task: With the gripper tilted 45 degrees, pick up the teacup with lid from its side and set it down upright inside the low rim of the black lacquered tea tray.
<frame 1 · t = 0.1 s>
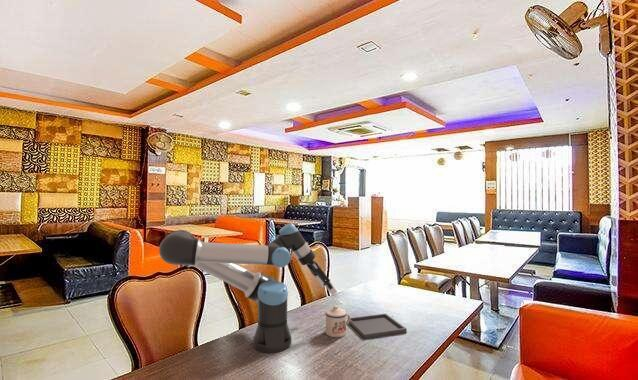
hand: (329, 289, 147), 15 cm above the table, tool tilted 35°, fingers open, 13 cm apart
teacup with lid: (338, 332, 137), on the table
tea tray: (375, 327, 142), on the table
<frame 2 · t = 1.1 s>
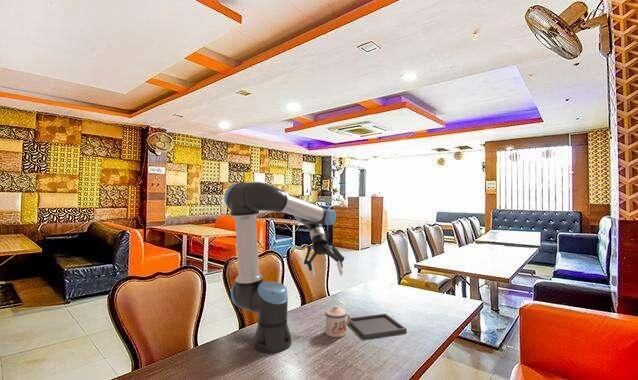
hand: (328, 275, 148), 22 cm above the table, tool tilted 45°, fingers open, 13 cm apart
nothing on the table moved.
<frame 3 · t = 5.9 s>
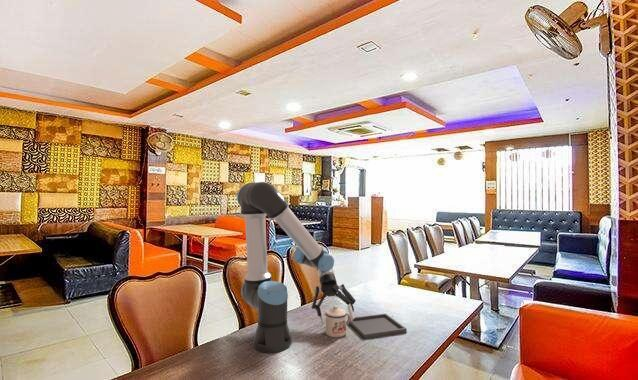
hand: (338, 321, 135), 5 cm above the table, tool tilted 45°, fingers open, 13 cm apart
teacup with lid: (338, 332, 137), on the table, touching gripper
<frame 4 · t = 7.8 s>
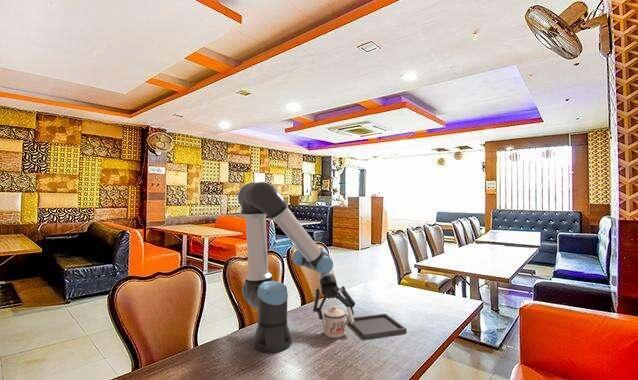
hand: (339, 324, 134), 5 cm above the table, tool tilted 45°, fingers closed on teacup with lid, 12 cm apart
teacup with lid: (337, 333, 136), on the table, touching gripper
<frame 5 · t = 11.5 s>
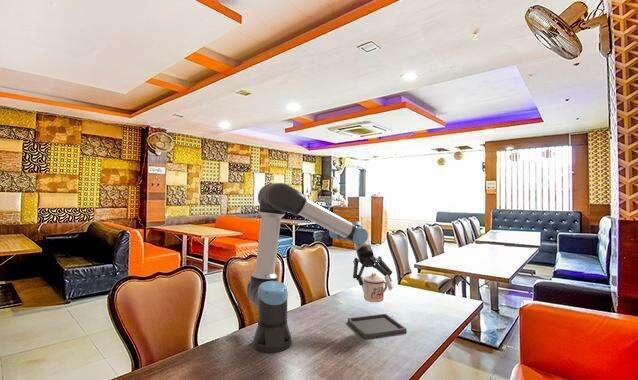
hand: (378, 290, 140), 17 cm above the table, tool tilted 45°, fingers closed on teacup with lid, 12 cm apart
teacup with lid: (376, 299, 142), point 13 cm above the table, touching gripper
when the fingers open (6 cm above the table, at t = 15.2 s): teacup with lid stays where it is, resting on tea tray.
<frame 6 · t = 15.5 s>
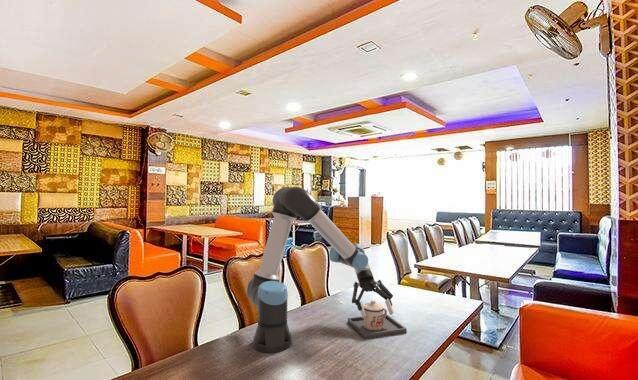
hand: (378, 315, 140), 6 cm above the table, tool tilted 45°, fingers open, 13 cm apart
teacup with lid: (375, 326, 142), resting on tea tray
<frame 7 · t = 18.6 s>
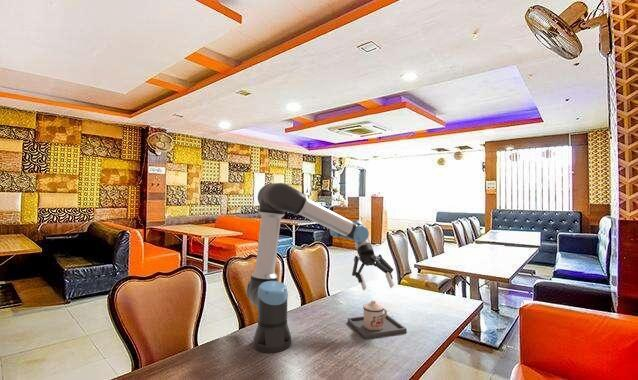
hand: (378, 287, 140), 18 cm above the table, tool tilted 45°, fingers open, 13 cm apart
nothing on the table moved.
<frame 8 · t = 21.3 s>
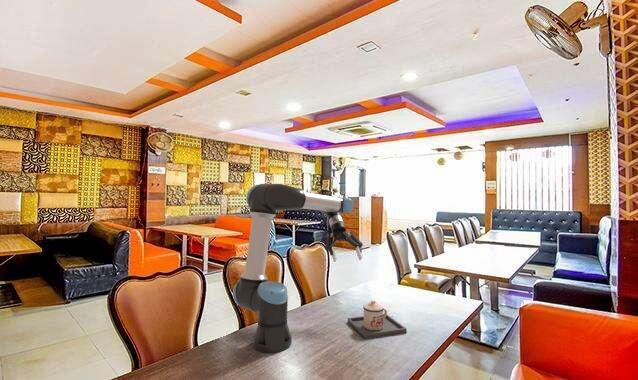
hand: (348, 259, 155), 28 cm above the table, tool tilted 45°, fingers open, 13 cm apart
nothing on the table moved.
at the end: teacup with lid inside the target area on the tea tray (0.4 cm from its centre), point 0.4 cm above the tea tray's base; teacup with lid tilted 0°; the gripper is holding nothing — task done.
